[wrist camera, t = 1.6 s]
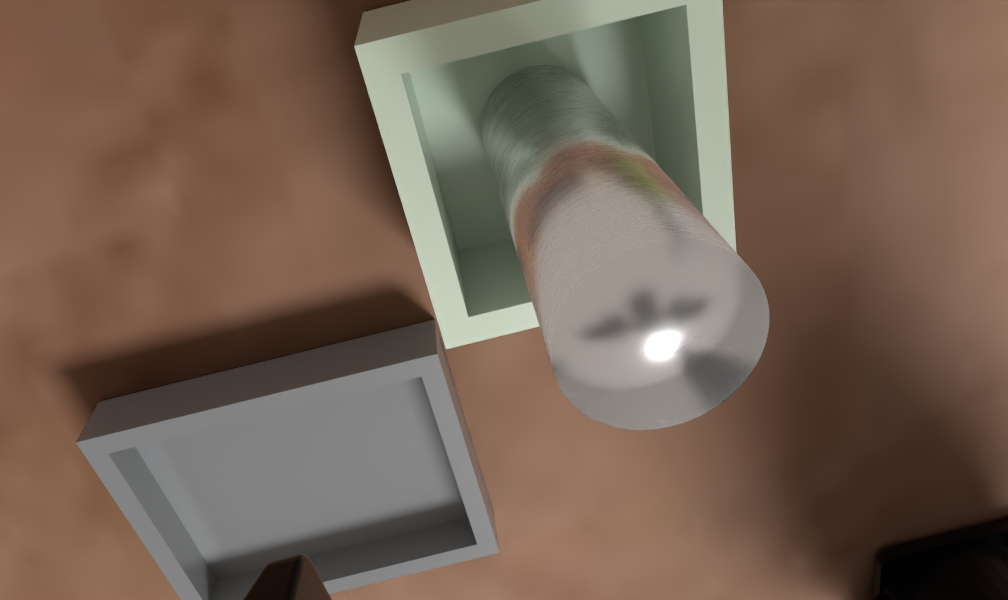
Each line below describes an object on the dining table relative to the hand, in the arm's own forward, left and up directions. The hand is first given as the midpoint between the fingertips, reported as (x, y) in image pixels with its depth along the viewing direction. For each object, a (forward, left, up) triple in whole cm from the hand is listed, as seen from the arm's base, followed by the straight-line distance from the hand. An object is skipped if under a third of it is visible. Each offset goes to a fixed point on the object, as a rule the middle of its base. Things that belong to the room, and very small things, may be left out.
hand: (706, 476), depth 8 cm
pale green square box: (0, 0, -13) cm, 13 cm away
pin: (0, 0, -12) cm, 12 cm away
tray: (+9, +9, -13) cm, 18 cm away
